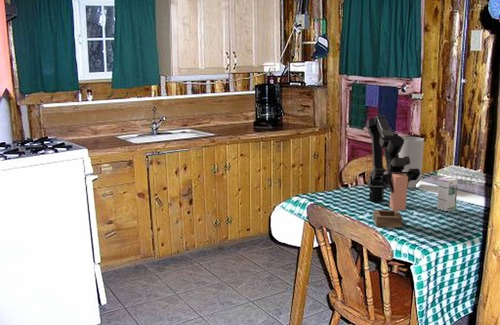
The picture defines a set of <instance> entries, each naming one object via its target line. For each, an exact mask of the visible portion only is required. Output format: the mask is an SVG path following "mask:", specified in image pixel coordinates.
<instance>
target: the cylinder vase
mask: <svg viewBox="0 0 500 325" xmlns="http://www.w3.org/2000/svg"><path fill="white" fill-rule="evenodd" d="M401 137H402V138H403V139H404V144H403V146H402V149H401V151H400V153H398V154H399V158H404V157H407V156H409V158H410V164H409V165H406V166H404V170H402V172H408V170H409V169H410V168H418V169H419V170H420V173H421V174H420V175H419V177H418V179H417V180H411V181H410V182H408V189H417V188H416V184H417V183H418V182H419V181H420V180H421V181H422V175H423V173H422V172H423V160H424V147H425V146H424V145H425V138H422V137H417V136H401Z"/></svg>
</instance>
